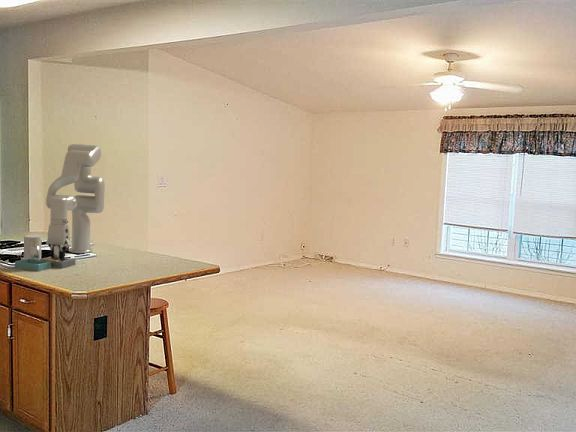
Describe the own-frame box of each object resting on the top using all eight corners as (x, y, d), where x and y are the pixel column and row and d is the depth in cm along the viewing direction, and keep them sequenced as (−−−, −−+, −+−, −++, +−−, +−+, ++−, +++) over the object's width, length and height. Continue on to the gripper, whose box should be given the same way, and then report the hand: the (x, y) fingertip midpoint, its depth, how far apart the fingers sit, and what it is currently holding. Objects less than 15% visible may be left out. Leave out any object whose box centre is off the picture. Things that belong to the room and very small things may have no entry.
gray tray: (54, 261, 282) (54, 255, 281) (75, 264, 278) (75, 258, 278) (39, 265, 272) (39, 258, 272) (61, 268, 268) (61, 261, 268)
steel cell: (57, 260, 277) (57, 243, 276) (63, 261, 276) (64, 244, 275) (51, 262, 274) (51, 244, 273) (58, 263, 272) (58, 245, 271)
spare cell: (34, 261, 279) (35, 243, 278) (41, 262, 278) (41, 244, 277) (28, 262, 275) (29, 245, 274) (35, 263, 274) (35, 246, 273)
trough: (28, 264, 272) (28, 258, 272) (51, 267, 268) (51, 261, 268) (15, 267, 264) (15, 261, 264) (38, 271, 260) (38, 265, 260)
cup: (28, 261, 279) (29, 237, 277) (20, 258, 284) (20, 235, 282) (44, 259, 285) (44, 236, 284) (36, 256, 290) (36, 234, 289)
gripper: (77, 222, 274) (77, 259, 276) (49, 219, 279) (49, 255, 281) (67, 224, 267) (66, 261, 269) (39, 221, 271) (38, 257, 274)
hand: (57, 257), depth 275 cm, fingers closed on steel cell, 4 cm apart
